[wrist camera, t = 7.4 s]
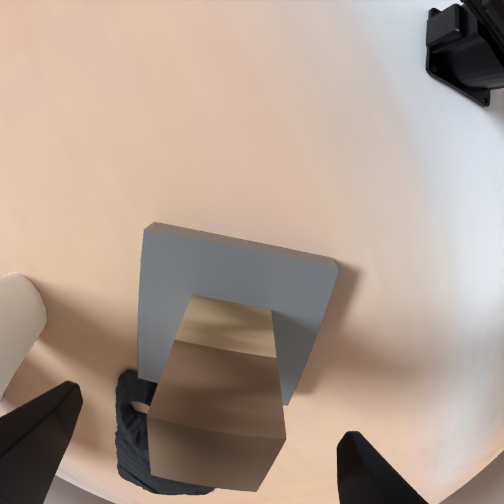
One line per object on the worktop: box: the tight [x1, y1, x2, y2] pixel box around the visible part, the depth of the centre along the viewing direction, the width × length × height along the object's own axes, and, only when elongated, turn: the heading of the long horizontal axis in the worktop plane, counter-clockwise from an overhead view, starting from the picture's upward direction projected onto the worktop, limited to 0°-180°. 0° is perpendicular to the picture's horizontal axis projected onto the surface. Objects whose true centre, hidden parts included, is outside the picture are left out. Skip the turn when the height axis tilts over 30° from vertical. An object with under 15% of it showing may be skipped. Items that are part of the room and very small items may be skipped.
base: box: [138, 222, 339, 405], centre depth 20 cm, size 12×12×2 cm
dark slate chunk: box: [115, 370, 214, 495], centre depth 25 cm, size 15×22×5 cm
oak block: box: [174, 294, 277, 358], centre depth 17 cm, size 5×5×5 cm
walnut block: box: [147, 340, 286, 492], centre depth 12 cm, size 5×5×5 cm
